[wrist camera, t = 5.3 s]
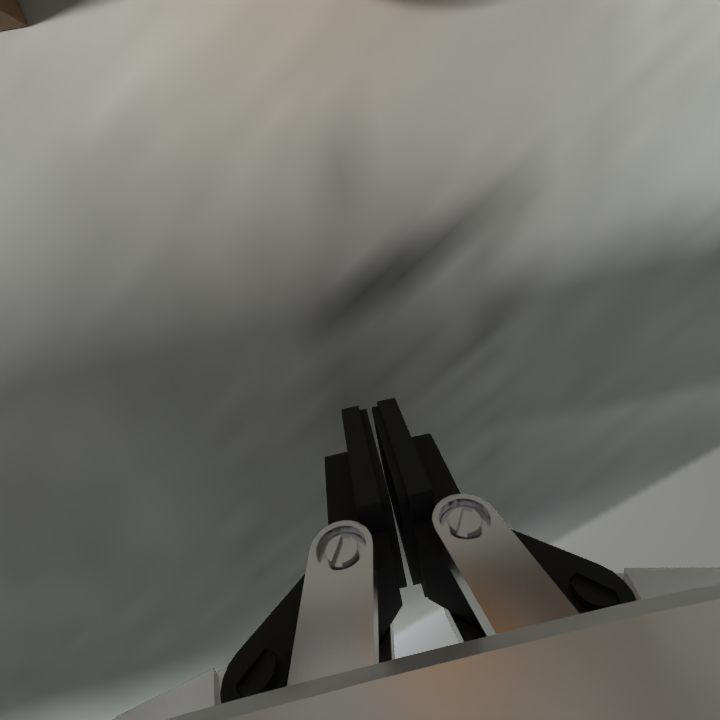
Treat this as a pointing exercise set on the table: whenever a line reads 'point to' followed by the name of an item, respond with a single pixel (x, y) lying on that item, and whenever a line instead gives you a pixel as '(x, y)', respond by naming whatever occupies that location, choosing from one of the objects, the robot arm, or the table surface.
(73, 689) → the table surface
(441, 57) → the table surface
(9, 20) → the brown arch
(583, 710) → the robot arm
